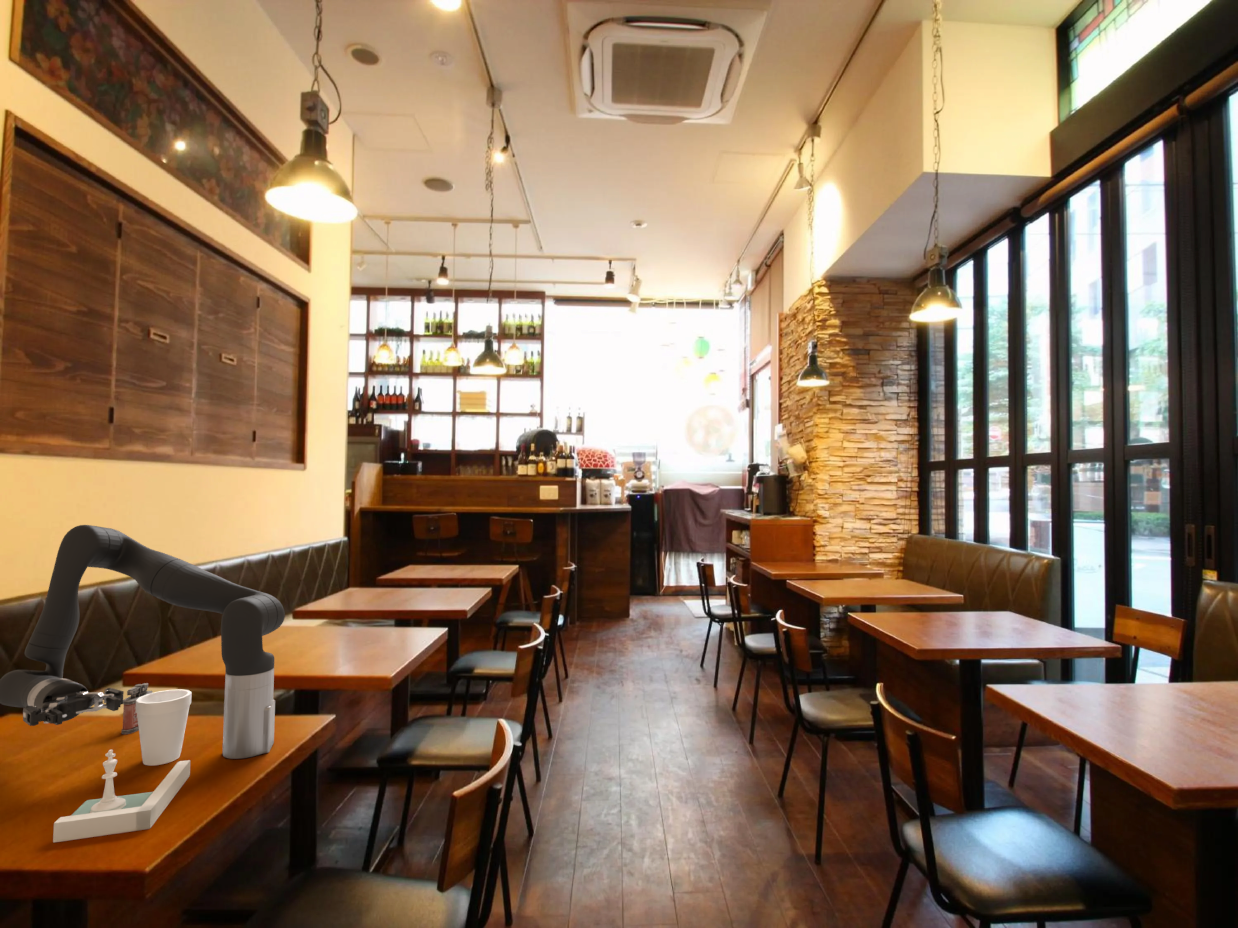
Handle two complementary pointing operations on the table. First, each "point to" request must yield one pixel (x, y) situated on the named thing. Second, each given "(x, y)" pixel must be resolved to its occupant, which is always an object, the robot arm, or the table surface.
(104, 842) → the table surface
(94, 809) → the chess piece
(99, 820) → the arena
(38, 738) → the table surface
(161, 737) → the foam cup
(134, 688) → the lighter
